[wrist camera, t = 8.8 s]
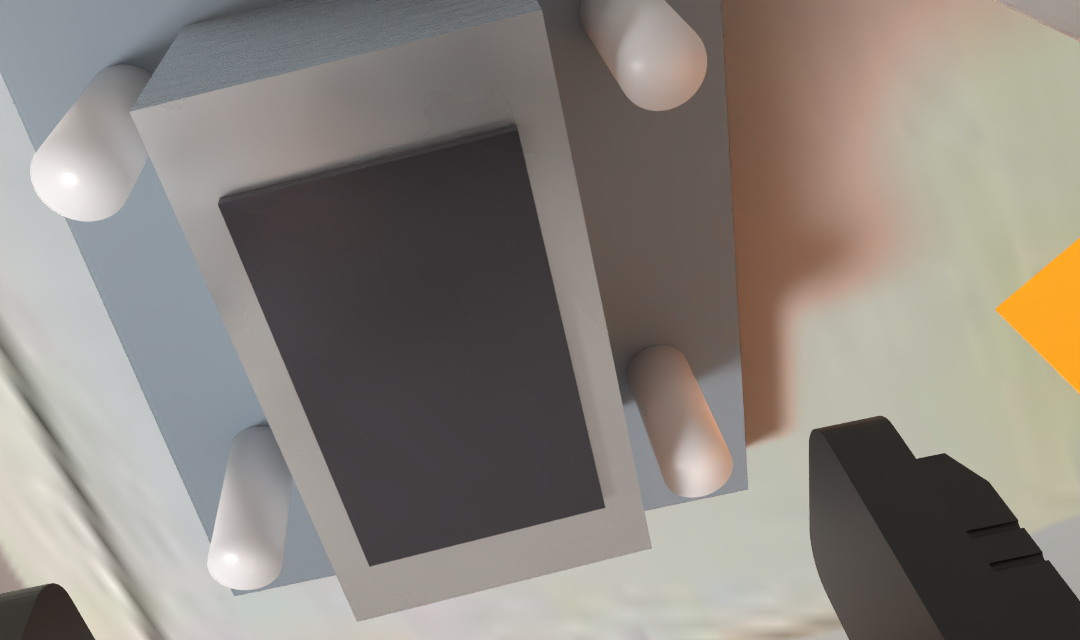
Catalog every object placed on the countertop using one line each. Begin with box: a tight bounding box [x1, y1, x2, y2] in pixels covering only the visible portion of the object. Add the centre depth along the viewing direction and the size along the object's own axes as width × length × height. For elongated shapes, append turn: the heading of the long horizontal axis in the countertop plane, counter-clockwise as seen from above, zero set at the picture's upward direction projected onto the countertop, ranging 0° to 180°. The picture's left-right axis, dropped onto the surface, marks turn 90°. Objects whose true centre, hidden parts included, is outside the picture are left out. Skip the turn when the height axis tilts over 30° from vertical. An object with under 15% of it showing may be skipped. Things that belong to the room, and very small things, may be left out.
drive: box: [130, 0, 652, 622], centre depth 16 cm, size 9×5×4 cm, turn 12°
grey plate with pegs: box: [0, 0, 748, 596], centre depth 17 cm, size 14×11×4 cm
